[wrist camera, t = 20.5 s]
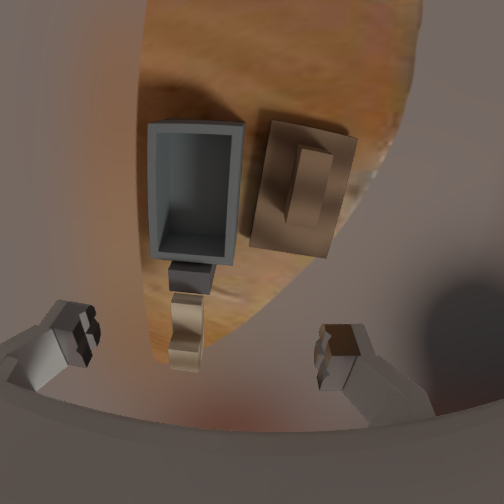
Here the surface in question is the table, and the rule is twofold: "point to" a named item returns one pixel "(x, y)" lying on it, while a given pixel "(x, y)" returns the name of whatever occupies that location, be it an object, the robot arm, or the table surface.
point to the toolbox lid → (301, 189)
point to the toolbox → (193, 197)
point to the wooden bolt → (187, 332)
